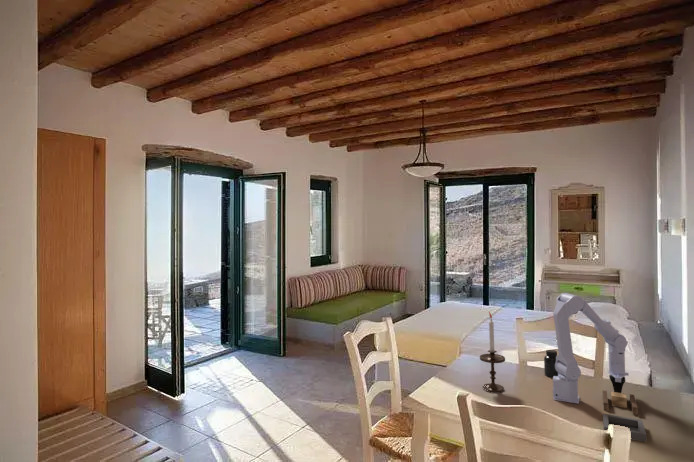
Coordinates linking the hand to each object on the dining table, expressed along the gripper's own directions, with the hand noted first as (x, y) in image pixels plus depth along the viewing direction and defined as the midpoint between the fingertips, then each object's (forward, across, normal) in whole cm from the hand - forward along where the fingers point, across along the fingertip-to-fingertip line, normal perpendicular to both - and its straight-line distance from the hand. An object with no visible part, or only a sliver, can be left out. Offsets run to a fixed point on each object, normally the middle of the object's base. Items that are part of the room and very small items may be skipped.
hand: (617, 393), depth 175 cm
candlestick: (+2, -13, +48) cm, 50 cm away
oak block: (+2, -8, 0) cm, 8 cm away
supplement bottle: (+2, +17, +26) cm, 31 cm away
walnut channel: (+1, -10, 0) cm, 10 cm away
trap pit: (+1, -33, 0) cm, 33 cm away
